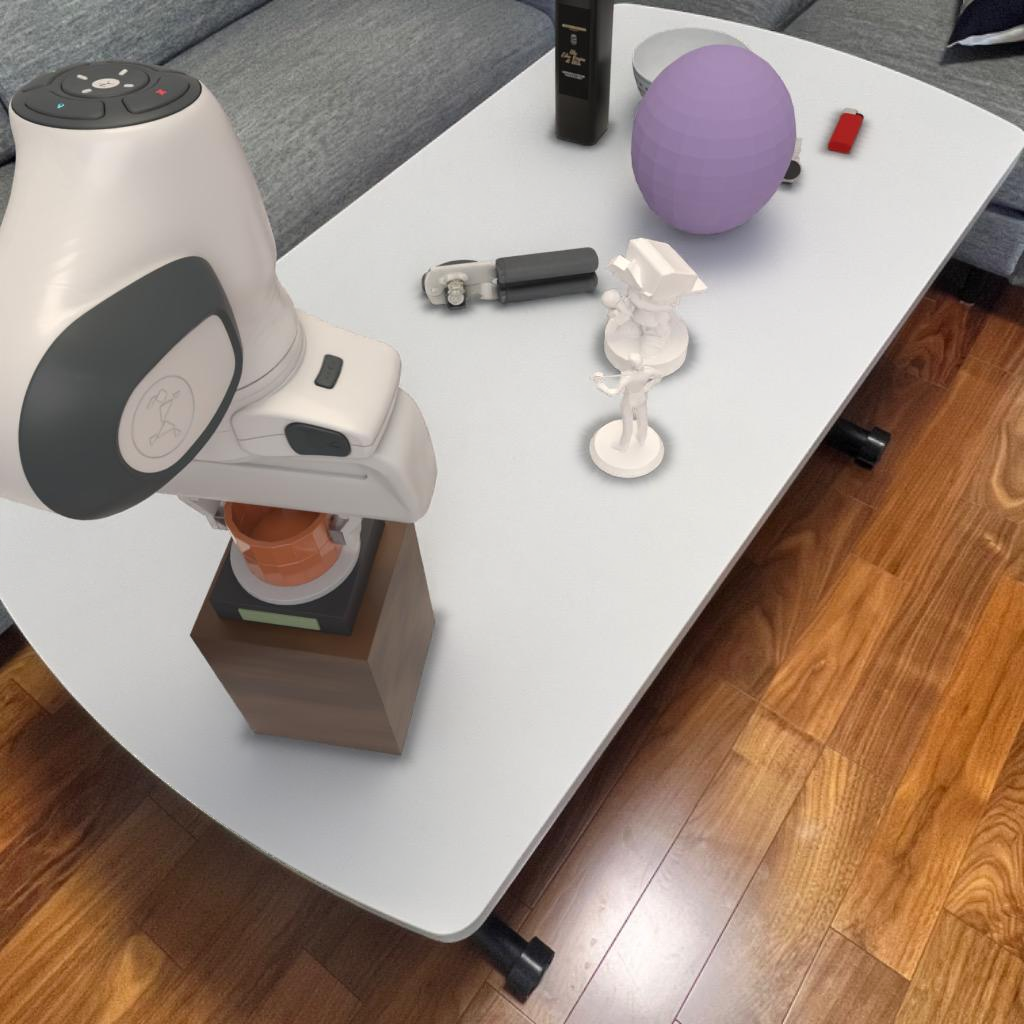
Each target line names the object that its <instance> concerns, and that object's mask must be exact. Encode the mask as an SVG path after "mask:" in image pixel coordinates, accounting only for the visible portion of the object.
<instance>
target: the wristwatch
mask: <svg viewBox="0 0 1024 1024" xmlns="http://www.w3.org/2000/svg"><path fill="white" fill-rule="evenodd" d="M802 144H803V138H802V137H796V143H795V150H794V154H793V157H792V159H791V162H790V165H789V167H788V169H787V172H786V174H785V176H784V178H783V180H782V183H783V182H784V183H792V184H793V183H794V182H795V180H796V179H798V178H799V177H800V175H801V174H802V173H803V172H804V169H803V166H802V164H801V162H800V154H801V152H802Z"/></svg>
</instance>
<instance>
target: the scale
mask: <svg viewBox="0 0 1024 1024" xmlns="http://www.w3.org/2000/svg"><path fill="white" fill-rule="evenodd" d="M384 526H385V521H384V520H379V519H370V518H362V521H361V532H360V535H359V538H358V541H357V544H356V546H347V545H343V548H342V551H341V553H340V556H339V557H338V559H337V561H336V562H335V563H334V565H333V566H332V567H331V568H330V569H329V570H328V571H327V572H326V573H324V574H323V575H322V576H320V577H319V578H317V579H315V580H313V581H311V582H308V583H305V584H302V585H298V586H290V587H282V586H275V585H271V584H268V583H265V582H263V581H261V580H260V579H258V578H257V577H255V576H254V575H253V574H252V573H251V571H250V570H249V568H248V566H247V565H246V563H245V561H244V560H243V558H242V556H241V554H240V552H239V550H238V548H237V546H236V544H235V542H234V540H233V542H232V544H231V547H230V549H229V552H228V554H227V556H226V559H225V561H224V563H223V566H222V568H221V571H220V573H219V575H218V578H217V580H216V583H215V585H214V587H213V590H212V592H211V595H210V597H209V602H210V603H211V605H212V607H213V608H214V610H215V612H216V613H217V615H218V617H219V618H222V619H229V620H237V621H244V622H251V623H258V624H265V625H273V626H280V627H287V628H294V629H301V630H308V631H316V632H323V633H330V634H337V635H344V636H351V634H352V630H353V627H354V624H355V621H356V617H357V614H358V611H359V608H360V604H361V601H362V598H363V595H364V591H365V588H366V585H367V582H368V578H369V575H370V572H371V569H372V565H373V562H374V559H375V556H376V552H377V549H378V546H379V543H380V539H381V536H382V533H383V530H384Z"/></svg>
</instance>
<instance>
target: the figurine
mask: <svg viewBox="0 0 1024 1024" xmlns="http://www.w3.org/2000/svg"><path fill="white" fill-rule="evenodd" d="M628 364H629V367H628V369H627V370H626V371H624V372H620V371H619V372H620V374H613V375H604V373H603V372H602V371H601V372H600V371H596V372H595V373H593V374H592V376H590V377H589V380H591V381H594V384H595V387H594V388H595V389H596V390H598V391H599V392H600V393H602V394H604V395H605V396H607V397H609V398H611V397H612V398H613V397H615V396H618V395H619V394H622V392H623V396H622V397H621V400H620V403H619V404H620V406H619V407H620V413H621V419H615V420H613V421H609V422H608V423H606V424H605V425H603V426H601V427H600V428H599V429H597V431H595V432H594V433H593V435H592V437H591V439H590V442H589V447H588V449H589V450H588V451H589V457H591V460H592V461H593V463H594V465H596V467H598V468H599V470H601V471H603V472H604V473H606V474H608V475H611V476H614V477H618V478H623V479H625V478H626V479H632V478H633V479H635V478H639V477H644V476H646V475H647V474H650V473H651V472H653V471H654V470H656V469H657V468H658V466H660V464H661V463H662V461H663V459H664V455H665V446H664V442H663V440H662V438H661V436H660V434H658V432H656V431H655V430H654V429H653V428H652V427H650V425H649V424H648V423H649V422H648V421H649V420H648V399H649V398H648V397H649V394H648V393H649V392H650V391H651V390H653V388H654V387H655V386H657V385H658V384H659V383H660V382H661V381H662V380H663V378H664V377H663V374H662V373H661V372H660V371H658V370H655V369H653V368H651V367H648V366H644V362H643V359H642V357H641V356H640V355H639V354H638V353H634V352H632V353H630V354H629V358H628ZM630 367H632V369H631V368H630ZM618 377H619V379H618V382H617V384H616V386H614V387H612V388H609V387H608V386H607V385H606V384H605V383H604V382H603V381H605V379H608V378H609V379H610V378H618ZM650 377H653V379H649V378H650ZM602 380H603V381H602ZM634 414H635V418H636V419H634Z"/></svg>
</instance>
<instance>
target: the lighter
mask: <svg viewBox="0 0 1024 1024" xmlns="http://www.w3.org/2000/svg"><path fill="white" fill-rule="evenodd" d="M864 118H865V116H864V115H863V114H862V113H859V110H858V109H857V108H852V107H846V108H843V111H842V112H841V115H840V116H839V119H838V122H837V123H836V126H835V128H834V130H833V132H832V134H831V137H830V139H829V141H828V144H827V149H828V150H830V151H833V152H837V153H842V154H848V153H850V152H851V150H852V147H853V145H854V143H855V140H856V138H857V136H858V133H859V131H860V129H861V127H862V124H863V122H864V120H865V119H864Z"/></svg>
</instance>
